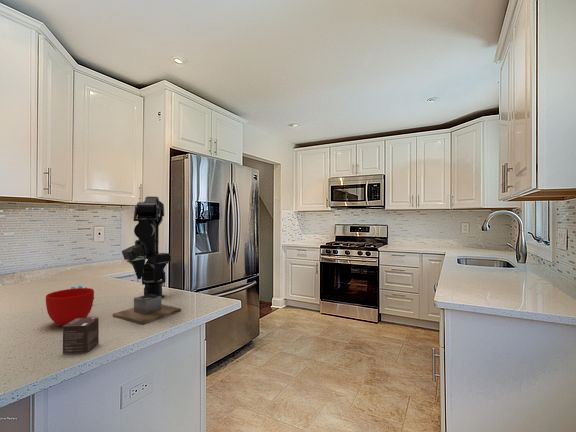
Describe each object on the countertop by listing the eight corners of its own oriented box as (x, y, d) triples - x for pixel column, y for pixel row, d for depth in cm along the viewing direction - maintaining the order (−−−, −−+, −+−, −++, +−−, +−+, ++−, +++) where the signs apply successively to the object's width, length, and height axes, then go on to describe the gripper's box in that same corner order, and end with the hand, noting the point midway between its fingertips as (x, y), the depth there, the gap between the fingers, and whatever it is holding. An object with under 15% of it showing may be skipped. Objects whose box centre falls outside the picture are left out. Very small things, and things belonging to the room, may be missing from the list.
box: (76, 344, 84) (76, 317, 84) (99, 343, 85) (99, 317, 85) (62, 354, 78) (61, 325, 78) (86, 353, 79) (86, 325, 78)
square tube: (149, 307, 114) (149, 293, 114) (161, 309, 111) (161, 296, 111) (133, 312, 108) (133, 298, 108) (145, 314, 105) (145, 300, 105)
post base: (152, 304, 121) (152, 290, 121) (181, 311, 113) (181, 296, 113) (112, 316, 107) (112, 300, 107) (141, 324, 99) (141, 307, 99)
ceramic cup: (104, 311, 112) (104, 284, 112) (84, 328, 95) (84, 296, 95) (64, 314, 109) (64, 286, 109) (36, 332, 93) (36, 299, 93)
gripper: (109, 237, 107) (109, 282, 107) (143, 239, 98) (143, 288, 98) (138, 235, 117) (138, 276, 117) (172, 237, 108) (172, 281, 108)
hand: (147, 280), depth 110 cm, fingers open, 9 cm apart
